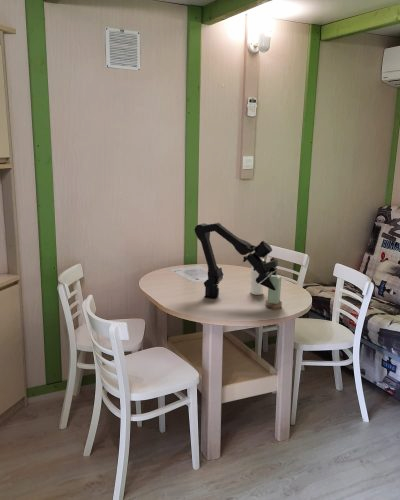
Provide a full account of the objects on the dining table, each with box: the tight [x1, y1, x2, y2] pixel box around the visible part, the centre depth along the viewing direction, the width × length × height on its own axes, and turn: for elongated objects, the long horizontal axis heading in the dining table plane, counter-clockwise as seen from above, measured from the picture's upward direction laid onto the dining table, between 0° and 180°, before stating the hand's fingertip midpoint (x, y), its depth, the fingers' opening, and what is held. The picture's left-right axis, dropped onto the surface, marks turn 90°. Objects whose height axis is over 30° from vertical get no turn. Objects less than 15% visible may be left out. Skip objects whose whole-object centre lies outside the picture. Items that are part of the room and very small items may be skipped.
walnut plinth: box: [265, 299, 283, 310], centre depth 237 cm, size 8×8×2 cm
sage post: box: [267, 274, 282, 304], centre depth 236 cm, size 5×5×13 cm
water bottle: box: [249, 251, 265, 296], centre depth 256 cm, size 7×7×25 cm
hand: (277, 287), depth 235 cm, fingers open, 9 cm apart
